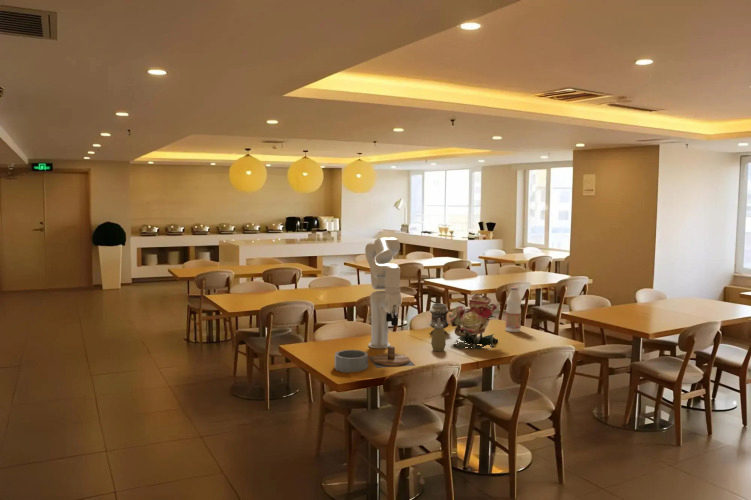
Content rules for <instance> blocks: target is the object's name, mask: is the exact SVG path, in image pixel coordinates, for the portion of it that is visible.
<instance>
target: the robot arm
mask: <svg viewBox="0 0 751 500" xmlns="http://www.w3.org/2000/svg"><path fill="white" fill-rule="evenodd" d="M400 250H401V243H400V241H399V239H398V238H396V237H379V238H377V239H375V240H374V242H369V243H367V244H366V245H365V249H364V252H365V257H366V260H367V263H368V265H369V271H370V283H371V287H372V289H374V290H377V291H373V292H371V294H370V297H369V301H370V308H371V310H370V311H371V312H370V313H371V318H370V319H371V322H370V324H371V326H370V329H371V334H370V335H371V336H370V337H371V339H370V342H368V347H369V348H372V349H379V350H381V349H388V347H389V346H392V345H391V343H390V342H389V322H390V323H391V326H392V327H395V326H397V327H398V324H399V307H400V306H401V305H402V295H401V273H402V272H401V267H400V266H399V264H397V263H390V261H392V259H393V257H395V256H396V255H398V253H399V252H400Z"/></svg>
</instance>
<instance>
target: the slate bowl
mask: <svg viewBox="0 0 751 500" xmlns="http://www.w3.org/2000/svg"><path fill="white" fill-rule="evenodd" d="M368 357H369V353H368V352H367V351H364V350H361V349H343V350H339V351H336V352H335V353H334V369H335V371H337V372H340V373H346V374H350V373H357V372H361V371H366V370H367V369H368V368H369V358H368Z"/></svg>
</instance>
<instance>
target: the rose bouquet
mask: <svg viewBox="0 0 751 500" xmlns="http://www.w3.org/2000/svg"><path fill="white" fill-rule="evenodd" d="M469 297H470V299H468V301H469V302H468V306H469V309H466V308H465V306H464V305H463V304H462V305H457V306H456V307H454V308H453V310H452V311H451V313H452V314H449V315H448V317H449V318H450V324H451V327H452V328H453V327H454V334H455V335H456V336H457V339H460V340H461V341H466V343H468V344H469V343H472V345H468V344H465V343H464V342H459V343H457V344H453V345H455V346H456V347H457V349H459V348H465V347H468V348H471V347H472V349H473V350H475V349H476V350H481V349H480V348H482V347H484V346H486V345H490V344H491V346H490V347H493V348H494V342H495V341H496V342H495V343H499V339H497V338H496V337H494V336H493V335H494V333H492V334H488V335H485V336H483V333H485V332H486V329H487V327H488V325H489V322H490V319H491V318H494V319H495V318H496V317H497V316H496V315H494V313H495V310H497V309H498V306H497V305H496V304H495V303H491V302H492V299H491V298H490V297H489V296H484V295H481V294H480V293H474V294H472V295H470V296H469ZM490 303H491V304H490ZM477 344H482V345H483V346H480V345H477ZM482 349H483V348H482Z"/></svg>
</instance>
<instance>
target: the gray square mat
mask: <svg viewBox="0 0 751 500" xmlns="http://www.w3.org/2000/svg"><path fill="white" fill-rule="evenodd" d="M403 355H404V356H406V355H405V354H403ZM374 356H375V355H373V356H368V360H370V362H371V363H372V364H373V365H374V366H375V368H377V369H379V368H396V367H397V368H398V367H400V366H382V365H378V364H375V363H374V362H373V357H374ZM412 366H413V367H414V366H416V364H415V363H414V362H412V360H410V362H409V363H408V364H406V365H402V366H401V367H412Z"/></svg>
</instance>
